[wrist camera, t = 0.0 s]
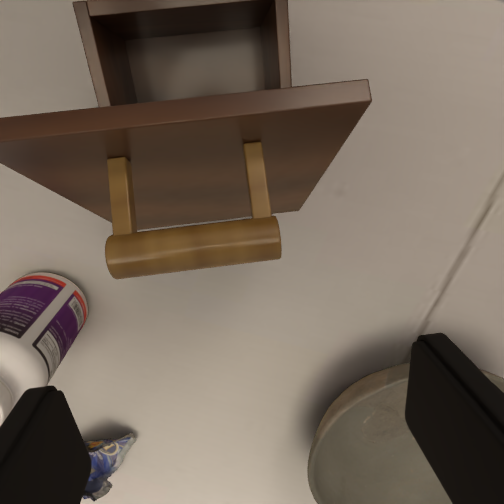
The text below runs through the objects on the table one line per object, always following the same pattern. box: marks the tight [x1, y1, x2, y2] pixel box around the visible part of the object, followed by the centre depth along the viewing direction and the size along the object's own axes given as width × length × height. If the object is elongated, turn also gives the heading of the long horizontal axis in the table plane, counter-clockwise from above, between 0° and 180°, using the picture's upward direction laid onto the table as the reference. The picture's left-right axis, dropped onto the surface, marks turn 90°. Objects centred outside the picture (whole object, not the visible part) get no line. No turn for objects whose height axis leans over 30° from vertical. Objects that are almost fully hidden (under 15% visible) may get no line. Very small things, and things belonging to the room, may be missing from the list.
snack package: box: [82, 432, 136, 501], centre depth 44 cm, size 12×6×12 cm
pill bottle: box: [0, 272, 88, 426], centre depth 30 cm, size 8×8×14 cm
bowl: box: [308, 363, 504, 504], centre depth 44 cm, size 27×28×8 cm
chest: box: [73, 0, 292, 107], centre depth 27 cm, size 14×13×9 cm
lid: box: [0, 79, 372, 279], centre depth 18 cm, size 14×13×5 cm
